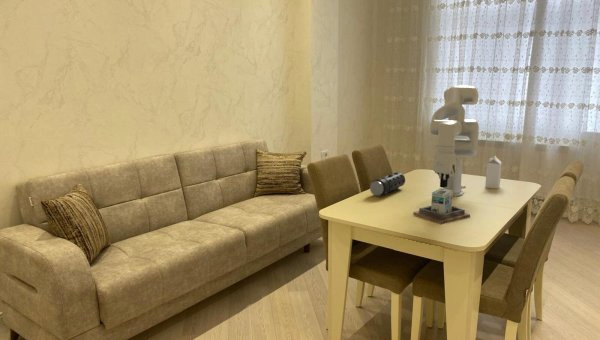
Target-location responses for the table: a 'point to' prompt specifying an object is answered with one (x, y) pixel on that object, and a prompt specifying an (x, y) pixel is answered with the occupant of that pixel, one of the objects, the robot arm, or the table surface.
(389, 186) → the muzzle brake
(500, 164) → the milk carton
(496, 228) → the table surface
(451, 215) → the tray
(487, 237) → the table surface
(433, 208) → the light bulb box
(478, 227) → the table surface
